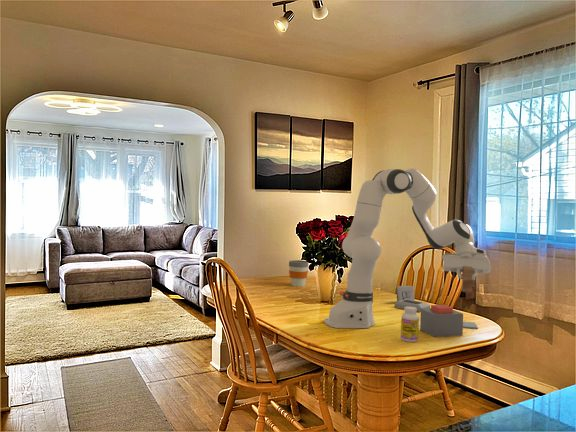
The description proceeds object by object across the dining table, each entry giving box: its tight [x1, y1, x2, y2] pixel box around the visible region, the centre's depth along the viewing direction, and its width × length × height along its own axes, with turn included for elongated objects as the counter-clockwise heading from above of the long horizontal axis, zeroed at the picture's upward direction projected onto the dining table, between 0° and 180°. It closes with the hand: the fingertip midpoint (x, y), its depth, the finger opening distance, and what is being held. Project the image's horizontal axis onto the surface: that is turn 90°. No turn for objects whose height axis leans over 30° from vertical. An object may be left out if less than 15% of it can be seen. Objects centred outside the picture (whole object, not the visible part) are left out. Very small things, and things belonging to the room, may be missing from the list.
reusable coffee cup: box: [288, 259, 309, 287], centre depth 300 cm, size 13×13×15 cm
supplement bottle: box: [400, 306, 420, 343], centre depth 185 cm, size 7×7×13 cm
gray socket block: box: [419, 307, 464, 338], centre depth 197 cm, size 13×11×9 cm
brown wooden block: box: [461, 266, 473, 294], centre depth 209 cm, size 4×4×11 cm
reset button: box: [430, 304, 454, 314], centre depth 197 cm, size 6×6×5 cm
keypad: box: [394, 299, 431, 313], centre depth 242 cm, size 10×4×15 cm
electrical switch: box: [395, 285, 416, 302], centre depth 255 cm, size 9×5×9 cm, turn 104°
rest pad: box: [463, 321, 479, 330], centre depth 210 cm, size 9×9×1 cm
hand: (467, 278), depth 209 cm, fingers closed on brown wooden block, 4 cm apart
